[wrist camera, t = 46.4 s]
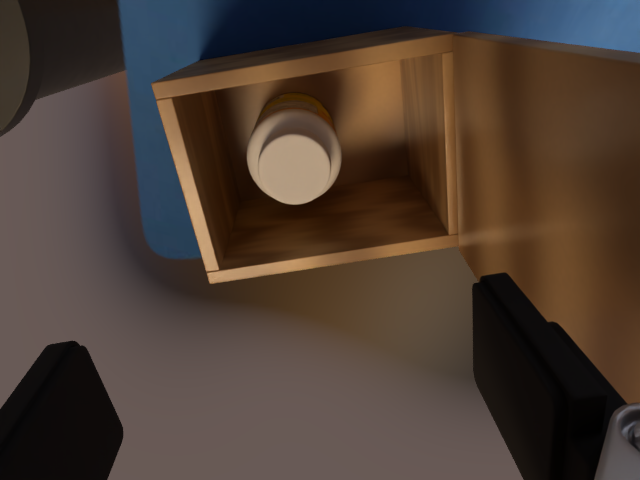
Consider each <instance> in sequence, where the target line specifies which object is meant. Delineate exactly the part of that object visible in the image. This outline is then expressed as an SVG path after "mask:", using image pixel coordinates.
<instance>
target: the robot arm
mask: <svg viewBox="0 0 640 480" xmlns="http://www.w3.org/2000/svg"><path fill="white" fill-rule="evenodd" d="M472 295H473V371H474V377H475V381H476V384H477V387H478V389H479V391H480V393H481V395H482V397H483V399H484V401H485V403H486V405H487V406H488V409H489V411H490V413H491V415H492V417H493V419H494V421H495V423H496V425H497V427H498V429H499V431H500V433H501V435H502V437H503V439H504V441H505V443H506V445H507V447H508V449H509V451H510V453H511V455H512V457H513V459H514V461H515V463H516V465H517V467H518V469H519V471H520V473H521V475H522V477H523V479H524V480H640V403H631V404H627V403H626V402H625V400H624V399H623V398H622V397H621V396H620V395H619V393H618V392H617V391H616V390H615V389H614V387H613V386H612V385H611V384H610V383H609V382H608V380H607V379H606V378H605V377H604V376H603V375H602V373H601V372H600V371H599V370H598V369H597V368H596V366H595V365H594V364H593V363H592V362H591V361H590V359H589V358H588V357H587V356H586V355H585V354H584V352H583V351H582V350H581V349H580V348H579V347H578V345H577V344H576V343H575V342H574V341H573V340H572V338H571V337H570V336H569V335H568V334H567V333H566V331H565V330H564V329H563V328H562V327H561V326H560V325H559V324H558V323H556V322H553V321H552V322H547V321H546V319H545V318H544V317H543V316H542V315H541V313H540V312H539V311H538V310H537V309H536V307H535V306H534V305H533V304H532V302H531V301H530V300H529V299H528V298H527V296H526V295H525V294H524V293H523V292H522V290H521V289H520V288H519V287H518V286H517V284H516V283H515V282H514V281H513V279H512V278H511V277H510V276H509V275H508V274H507V273H506V272H503V273H497V274H490V275H484V276H481V277H480V280H479V283H474V284H473V288H472ZM122 439H123V427H122V424H121V422H120V420H119V417H118V415H117V413H116V411H115V409H114V407H113V404H112V402H111V400H110V398H109V396H108V393H107V391H106V389H105V387H104V385H103V383H102V380H101V378H100V376H99V374H98V372H97V370H96V368H95V365H94V363H93V361H92V359H91V357H90V354H89V352H88V350H87V349H86V347H84V346H80V345H79V344H78V343H77V342H75V341H68V342H62V343H56V344H50V345H48V346H47V347H46V348H45V349H44V350H43V352H42V353H41V354H40V356H39V357H38V358H37V360H36V361H35V363H34V364H33V365H32V367H31V368H30V369H29V371H28V372H27V373H26V375H25V376H24V378H23V379H22V380H21V382H20V383H19V384H18V386H17V387H16V389H15V390H14V391H13V393H12V394H11V395H10V397H9V398H8V399H7V401H6V402H5V404H4V405H3V406H2V408H1V409H0V480H107V478H108V476H109V474H110V471H111V468H112V466H113V463H114V461H115V458H116V456H117V453H118V450H119V448H120V446H121V443H122Z"/></svg>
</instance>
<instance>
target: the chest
mask: <svg viewBox="0 0 640 480" xmlns="http://www.w3.org/2000/svg"><path fill="white" fill-rule="evenodd" d="M456 33H457V32H450V31H442V30H433V29H425V28H417V27H409V26H404V27H398V28H392V29H386V30H380V31H374V32H368V33H362V34H356V35H350V36H344V37H338V38H332V39H326V40H320V41H314V42H308V43H302V44H296V45H290V46H284V47H278V48H272V49H266V50H260V51H254V52H248V53H242V54H236V55H230V56H224V57H218V58H212V59H206V60H200V61H197V62H195V63H193V64H191V65H189V66H187V67H184V68H182V69H180V70H178V71H176V72H174V73H172V74H170V75H167V76H165V77H163V78H161V79H159V80H157V81H155V82H153V83H151V85H152V88H153V92H154V95H155V99H156V102H157V106H158V109H159V112H160V116H161V119H162V123H163V126H164V130H165V133H166V136H167V140H168V143H169V147H170V150H171V153H172V157H173V160H174V164H175V167H176V170H177V174H178V177H179V181H180V184H181V188H182V191H183V194H184V198H185V201H186V205H187V208H188V211H189V215H190V218H191V222H192V225H193V228H194V232H195V235H196V239H197V242H198V246H199V249H200V252H201V256H202V259H203V263H204V266H205V269H206V272H207V276H208V280H209V283H210V284H213V283H219V282H226V281H233V280H239V279H246V278H252V277H259V276H265V275H272V274H279V273H285V272H291V271H298V270H305V269H311V268H317V267H325V266H331V265H338V264H344V263H351V262H358V261H364V260H371V259H377V258H384V257H390V256H397V255H403V254H409V253H417V252H423V251H430V250H436V249H443V248H449V247H456V246H459V235H458V200H457V165H456V129H455V94H454V59H453V34H456ZM287 92H302V93H306V94H309V95H311V96H313V97H315V98H316V99H318V100H319V101H320V102H321V103H322V104H323V105H324V106H325V107H326V109H327V110H328V112H329V114H330V116H331V118H332V121H333V124H334V127H335V130H336V133H337V136H338V139H339V142H340V146H341V152H342V162H341V168H340V171H339V174H338V176H337V178H336V180H335V182H334V183H333V184H332V186H331V187H330V188H329V189H328V190H327V191H326V192H325V193H324V194H322V195H321V196H319V197H317V198H315V199H313V200H312V201H309V202H307V203H304V204H297V205H292V204H286V203H282V202H280V201H278V200H276V199H274V198H272V197H270V196H269V195H267V194H266V193H265V192H263V191H262V190H261V189H260V188H259V187H258V185H257V184H256V183H255V181H254V180H253V178H252V176H251V174H250V171H249V168H248V164H247V147H248V143H249V139H250V137H251V134H252V132H253V129H254V127H255V124H256V121H257V119H258V117H259V115H260V113H261V111H262V109H263V108H264V106H265V105H266V104H267V103H268V102H269V101H270V100H272V99H273V98H274V97H276V96H278V95H280V94H283V93H287Z"/></svg>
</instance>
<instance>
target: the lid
mask: <svg viewBox="0 0 640 480" xmlns="http://www.w3.org/2000/svg"><path fill="white" fill-rule="evenodd" d="M453 59H454V94H455V129H456V165H457V200H458V235H459V251H460V253H461V254H462V256H463V257H464V259H465V260H466V262H467V264H468V265H469V267H470V268H471V270H472V272H473V273H474V275H475V277H476V278H477V280H478V281H479V280H480V277H481V276H484V275H490V274H497V273H503V272H506V273H507V274H508V275H509V276H510V277H511V278H512V279H513V281H514V282H515V283H516V284H517V286H518V287H519V288H520V289H521V290H522V292H523V293H524V294H525V295H526V296H527V298H528V299H529V300H530V301H531V302H532V304H533V305H534V306H535V307H536V309H537V310H538V311H539V312H540V313H541V315H542V316H543V317H544V318H545V319H546V321H547V322H552V321H553V322H556V323H558V324H559V325H560V326H561V327H562V328H563V329H564V330H565V331H566V333H567V334H568V335H569V336H570V337H571V338H572V340H573V341H574V342H575V343H576V344H577V345H578V347H579V348H580V349H581V350H582V351H583V352H584V354H585V355H586V356H587V357H588V358H589V359H590V361H591V362H592V363H593V364H594V365H595V366H596V368H597V369H598V370H599V371H600V372H601V373H602V375H603V376H604V377H605V378H606V379H607V380H608V382H609V383H610V384H611V385H612V386H613V387H614V389H615V390H616V391H617V392H618V393H619V395H620V396H621V397H622V398H623V399H624V400H625V402H626V403H627V404H631V403H640V53H636V52H628V51H620V50H612V49H604V48H596V47H589V46H581V45H573V44H565V43H557V42H549V41H541V40H533V39H525V38H518V37H510V36H502V35H494V34H486V33H478V32H470V31H468V32H462V33H456V34H453Z"/></svg>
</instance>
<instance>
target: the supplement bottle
mask: <svg viewBox="0 0 640 480" xmlns="http://www.w3.org/2000/svg"><path fill="white" fill-rule="evenodd" d="M341 162H342V152H341V146H340V142H339V139H338V136H337V133H336V130H335V127H334V124H333V121H332V118H331V116H330V114H329V112H328V110H327V109H326V107H325V106H324V105H323V104H322V103H321V102H320V101H319V100H318V99H316V98H315V97H313V96H311V95H309V94H306V93H302V92H287V93H283V94H280V95H278V96H276V97H274V98H273V99H272V100H270V101H269V102H268V103H267V104H266V105H265V106H264V108H263V109H262V111H261V113H260V115H259V117H258V119H257V121H256V124H255V127H254V129H253V132H252V134H251V137H250V139H249V143H248V147H247V164H248V168H249V171H250V174H251V176H252V178H253V180H254V181H255V183H256V184H257V185H258V187H259V188H260V189H261V190H262V191H263V192H265V193H266V194H267V195H269V196H270V197H272V198H274V199H276V200H278V201H280V202H282V203H286V204H292V205H297V204H304V203H307V202H309V201H312V200H313V199H315V198H317V197H319V196H321V195H322V194H324V193H325V192H326V191H327V190H328V189H329V188H330V187H331V186H332V184H333V183H334V182H335V180H336V178H337V176H338V174H339V171H340V168H341Z"/></svg>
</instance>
